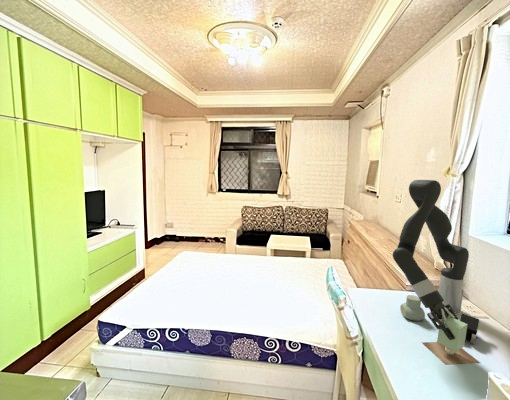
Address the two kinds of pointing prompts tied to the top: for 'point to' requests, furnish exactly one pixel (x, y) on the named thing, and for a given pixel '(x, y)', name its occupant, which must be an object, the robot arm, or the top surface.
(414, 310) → the air freshener
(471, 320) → the figurine character
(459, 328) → the light green rectangular block
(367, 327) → the top surface
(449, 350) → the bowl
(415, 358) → the top surface
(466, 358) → the walnut board
